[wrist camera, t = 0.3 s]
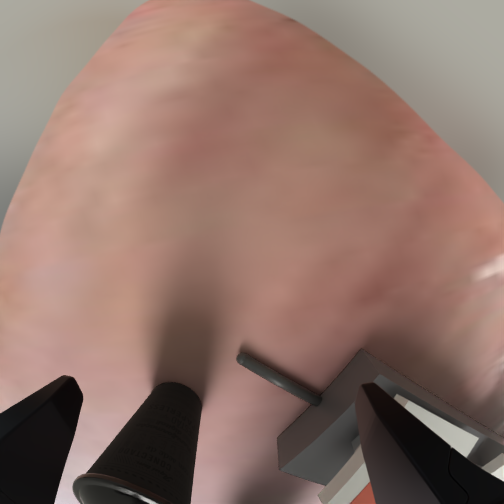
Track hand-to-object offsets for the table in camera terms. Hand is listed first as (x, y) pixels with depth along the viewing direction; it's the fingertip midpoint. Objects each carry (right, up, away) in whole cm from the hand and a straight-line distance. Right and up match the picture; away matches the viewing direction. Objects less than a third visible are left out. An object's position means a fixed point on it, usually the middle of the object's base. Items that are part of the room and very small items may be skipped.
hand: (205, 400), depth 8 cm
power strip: (+18, -17, +17) cm, 30 cm away
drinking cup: (-6, -9, +17) cm, 20 cm away
